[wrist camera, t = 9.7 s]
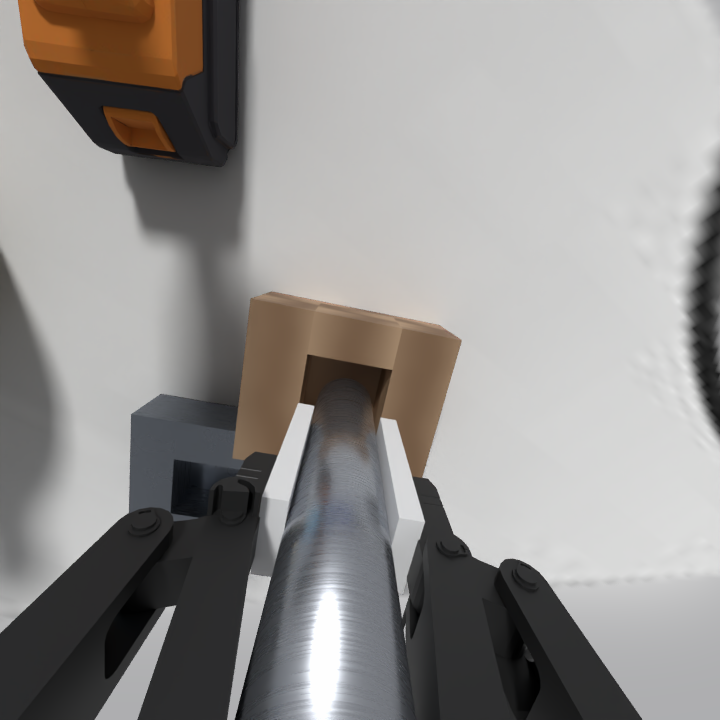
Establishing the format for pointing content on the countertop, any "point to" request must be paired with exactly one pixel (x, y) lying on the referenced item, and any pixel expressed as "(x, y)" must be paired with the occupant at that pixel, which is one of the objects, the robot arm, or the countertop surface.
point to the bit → (333, 584)
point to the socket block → (180, 454)
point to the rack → (340, 370)
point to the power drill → (142, 72)
